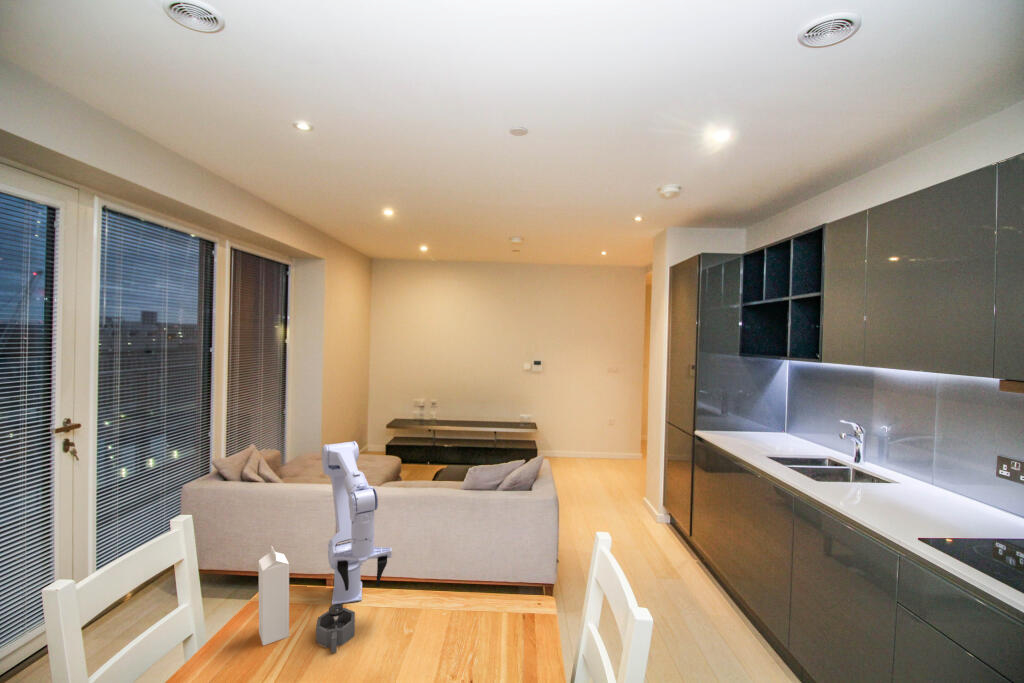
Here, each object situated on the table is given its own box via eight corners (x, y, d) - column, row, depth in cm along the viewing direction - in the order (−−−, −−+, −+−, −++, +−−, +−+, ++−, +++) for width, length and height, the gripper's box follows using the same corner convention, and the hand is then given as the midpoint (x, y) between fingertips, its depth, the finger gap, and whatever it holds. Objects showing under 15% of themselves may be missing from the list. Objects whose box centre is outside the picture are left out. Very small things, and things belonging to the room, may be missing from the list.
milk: (262, 646, 114) (261, 558, 113) (258, 632, 119) (257, 548, 118) (289, 636, 118) (289, 551, 117) (284, 623, 123) (284, 541, 122)
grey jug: (318, 626, 122) (318, 611, 122) (355, 620, 125) (355, 606, 124) (313, 657, 111) (313, 640, 111) (353, 650, 114) (353, 634, 113)
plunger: (324, 627, 121) (324, 602, 121) (348, 623, 123) (349, 599, 122) (322, 642, 115) (322, 616, 115) (347, 638, 117) (347, 612, 117)
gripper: (331, 545, 116) (331, 599, 117) (391, 539, 120) (391, 591, 121) (334, 533, 123) (334, 583, 124) (391, 527, 127) (390, 576, 127)
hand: (362, 586), depth 123 cm, fingers open, 7 cm apart
